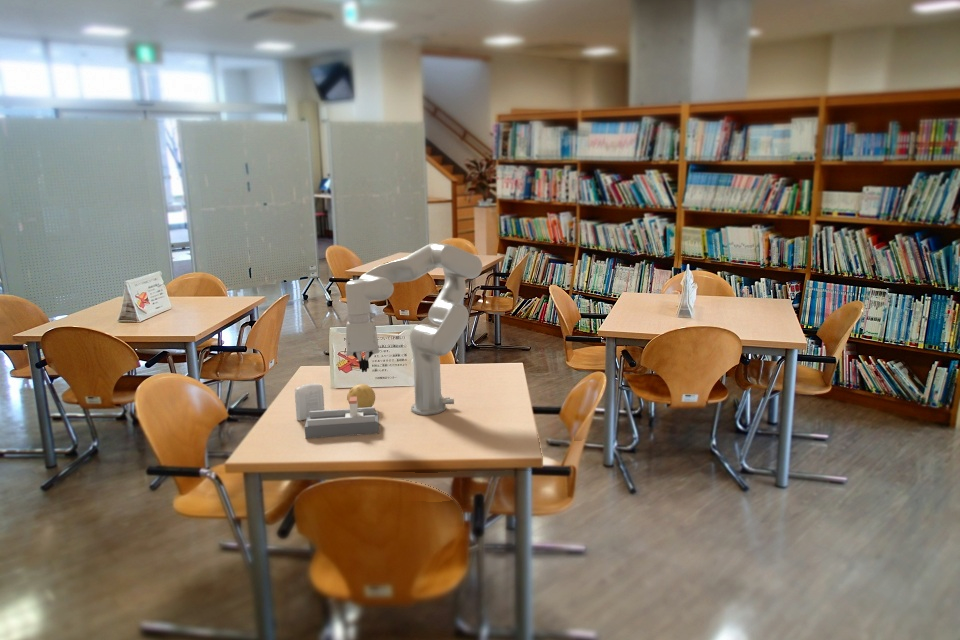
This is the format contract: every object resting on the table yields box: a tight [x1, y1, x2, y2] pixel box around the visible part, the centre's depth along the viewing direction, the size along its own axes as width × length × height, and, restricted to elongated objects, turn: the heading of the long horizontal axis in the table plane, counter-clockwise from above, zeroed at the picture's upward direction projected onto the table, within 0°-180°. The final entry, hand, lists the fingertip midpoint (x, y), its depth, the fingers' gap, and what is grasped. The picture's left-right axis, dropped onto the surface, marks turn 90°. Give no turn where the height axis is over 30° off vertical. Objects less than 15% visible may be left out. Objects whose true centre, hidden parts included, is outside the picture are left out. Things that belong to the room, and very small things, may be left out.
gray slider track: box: [304, 406, 380, 439], centre depth 245 cm, size 24×10×6 cm, turn 98°
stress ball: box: [346, 383, 376, 408], centre depth 262 cm, size 10×10×10 cm
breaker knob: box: [345, 396, 363, 417], centre depth 244 cm, size 6×6×7 cm
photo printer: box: [294, 382, 325, 422], centre depth 257 cm, size 10×4×12 cm, turn 123°
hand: (364, 370), depth 242 cm, fingers closed
